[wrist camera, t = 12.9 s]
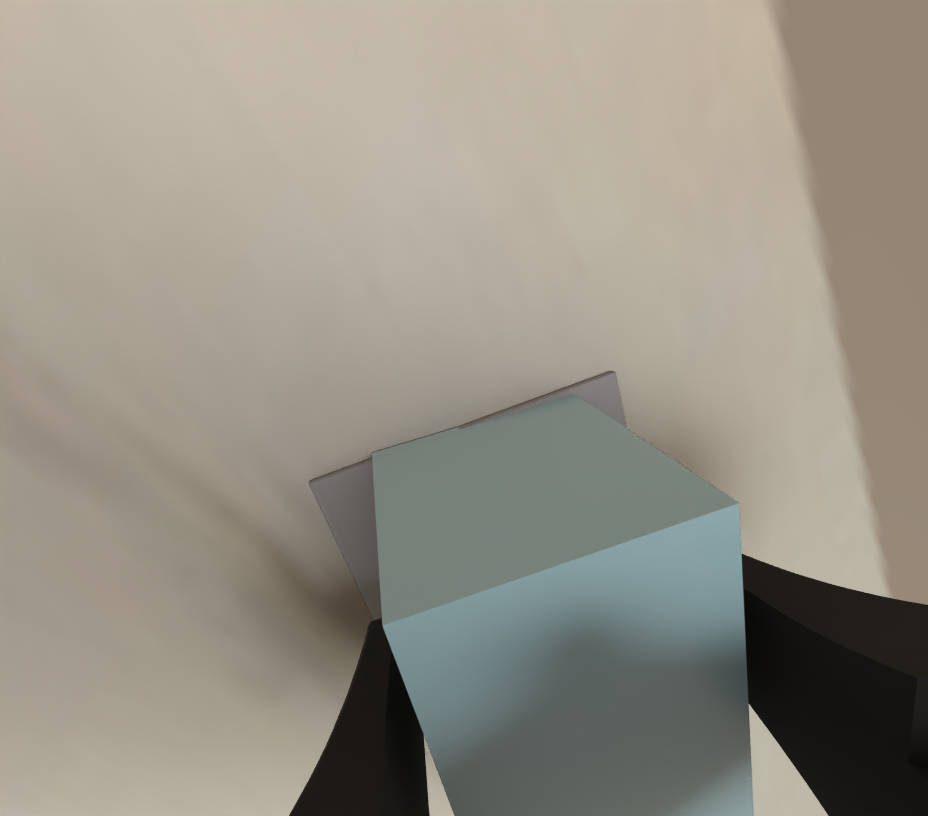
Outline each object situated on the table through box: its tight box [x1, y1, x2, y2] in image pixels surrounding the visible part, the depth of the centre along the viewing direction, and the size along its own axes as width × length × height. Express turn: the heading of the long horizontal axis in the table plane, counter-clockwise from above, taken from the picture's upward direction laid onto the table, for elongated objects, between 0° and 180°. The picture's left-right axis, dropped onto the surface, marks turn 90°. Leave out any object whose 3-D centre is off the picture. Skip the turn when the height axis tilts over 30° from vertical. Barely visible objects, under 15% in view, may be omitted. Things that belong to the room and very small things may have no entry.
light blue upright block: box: [372, 394, 754, 816], centre depth 12 cm, size 9×6×7 cm
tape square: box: [309, 371, 626, 620], centre depth 15 cm, size 9×9×1 cm
